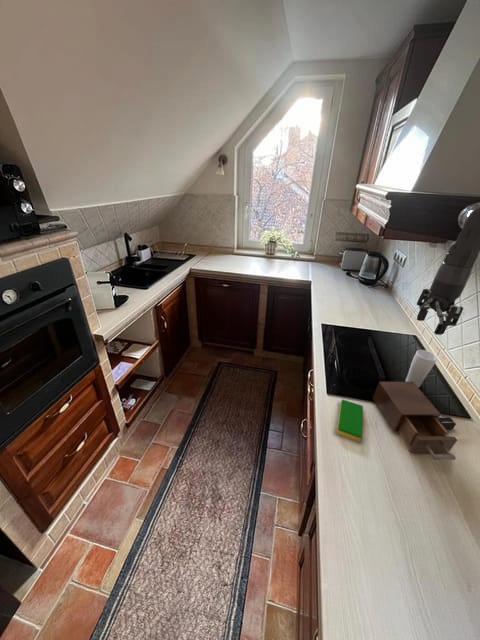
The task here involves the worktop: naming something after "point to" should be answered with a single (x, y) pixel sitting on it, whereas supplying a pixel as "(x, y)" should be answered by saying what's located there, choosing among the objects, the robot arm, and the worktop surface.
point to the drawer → (427, 437)
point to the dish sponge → (350, 420)
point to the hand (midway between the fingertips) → (428, 326)
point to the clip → (447, 423)
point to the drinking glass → (420, 367)
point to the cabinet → (402, 402)
